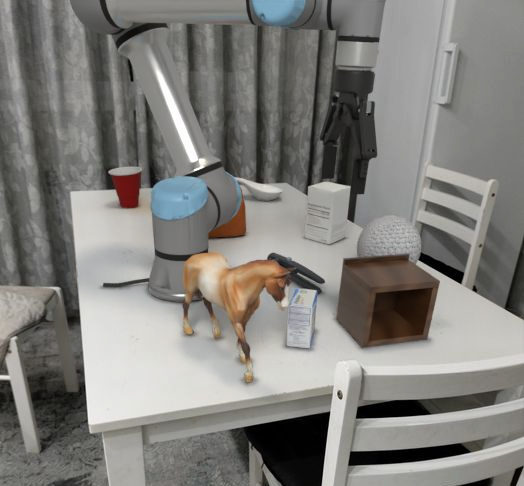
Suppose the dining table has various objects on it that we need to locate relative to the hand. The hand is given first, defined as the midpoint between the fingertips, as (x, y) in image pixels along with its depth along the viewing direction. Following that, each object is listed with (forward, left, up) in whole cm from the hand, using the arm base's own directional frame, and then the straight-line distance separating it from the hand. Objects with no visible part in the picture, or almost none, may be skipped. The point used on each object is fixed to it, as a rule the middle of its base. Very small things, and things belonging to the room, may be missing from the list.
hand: (341, 186), depth 108 cm
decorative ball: (+17, +6, -24) cm, 30 cm away
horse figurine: (-27, -19, -24) cm, 41 cm away
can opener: (-6, +7, -24) cm, 26 cm away
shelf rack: (+3, -19, -24) cm, 31 cm away
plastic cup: (-39, +81, -24) cm, 93 cm away
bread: (-20, +50, -24) cm, 59 cm away
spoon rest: (+4, +84, -24) cm, 87 cm away
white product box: (+14, +37, -24) cm, 46 cm away
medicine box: (-14, -19, -24) cm, 34 cm away
